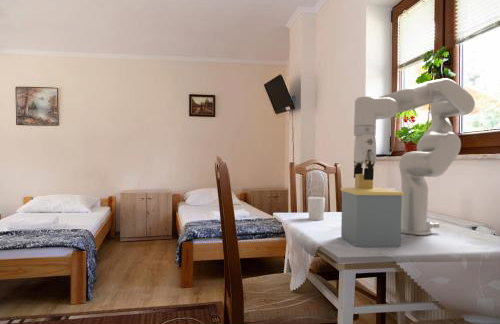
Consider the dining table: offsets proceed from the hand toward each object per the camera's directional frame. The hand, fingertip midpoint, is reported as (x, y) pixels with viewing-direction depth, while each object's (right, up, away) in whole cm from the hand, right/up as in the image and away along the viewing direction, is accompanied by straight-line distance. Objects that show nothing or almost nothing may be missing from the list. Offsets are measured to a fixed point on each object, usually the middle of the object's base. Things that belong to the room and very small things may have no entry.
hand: (363, 178), depth 136 cm
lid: (+1, -5, -6) cm, 7 cm away
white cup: (-10, -21, +39) cm, 45 cm away
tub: (+1, -22, -5) cm, 22 cm away
